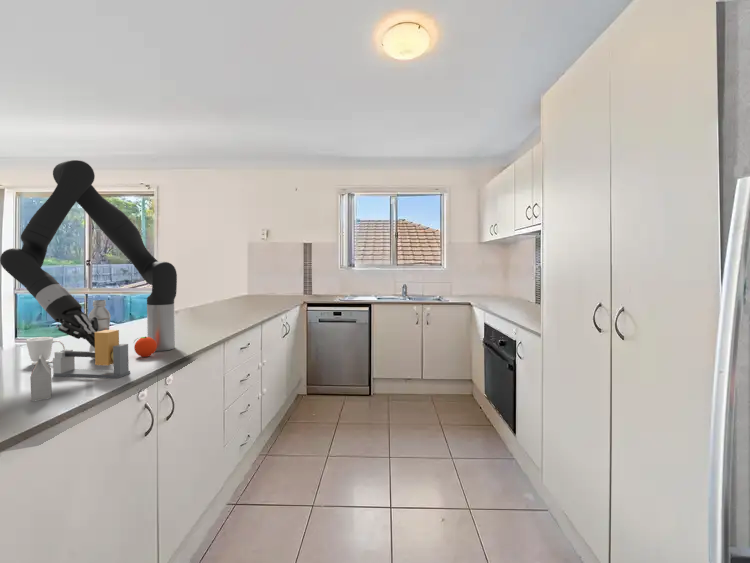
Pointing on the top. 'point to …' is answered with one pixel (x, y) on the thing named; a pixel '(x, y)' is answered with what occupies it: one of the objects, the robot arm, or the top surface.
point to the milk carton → (41, 380)
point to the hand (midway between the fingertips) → (99, 345)
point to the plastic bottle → (100, 317)
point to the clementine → (145, 346)
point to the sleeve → (105, 346)
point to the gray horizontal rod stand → (66, 367)
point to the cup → (40, 348)
